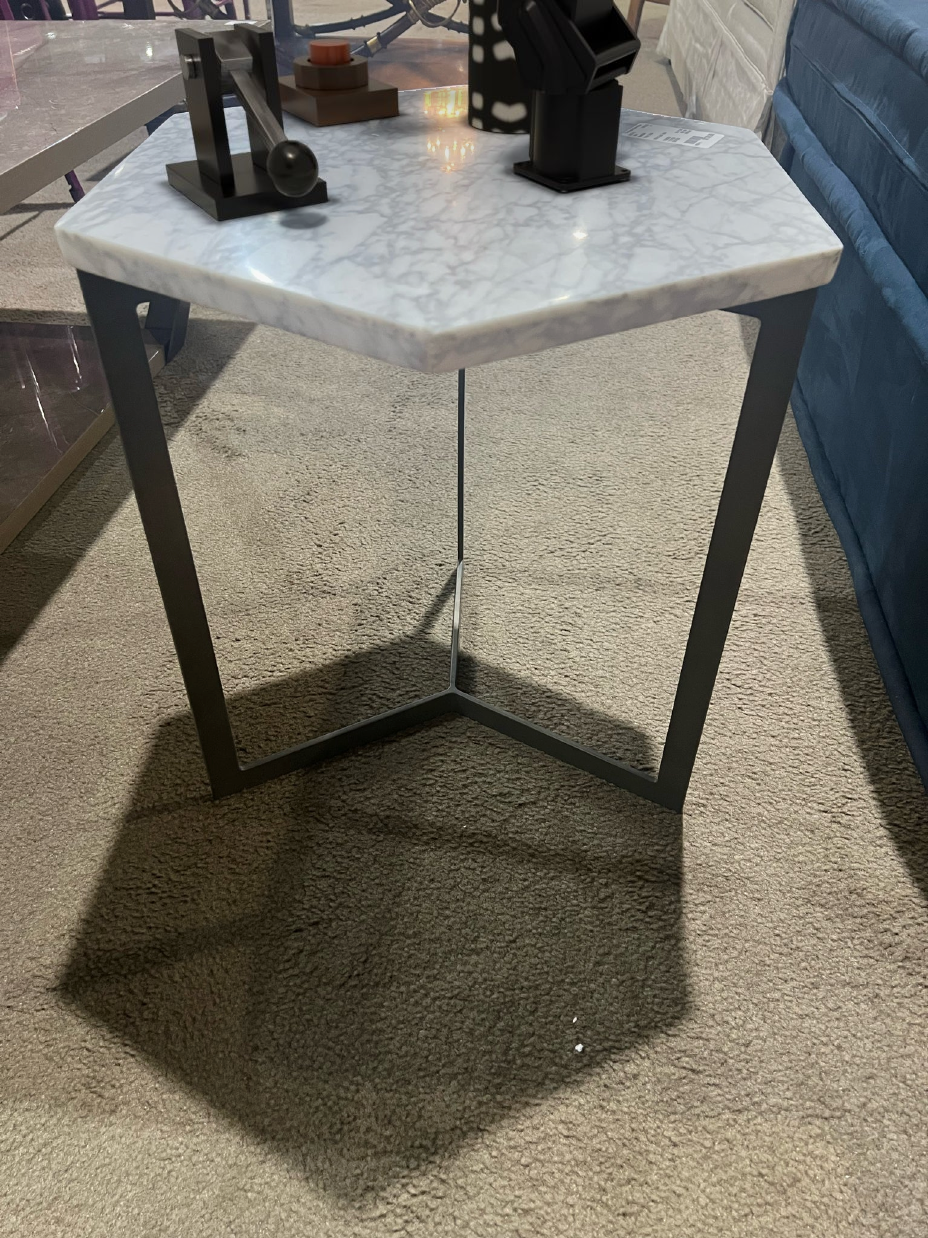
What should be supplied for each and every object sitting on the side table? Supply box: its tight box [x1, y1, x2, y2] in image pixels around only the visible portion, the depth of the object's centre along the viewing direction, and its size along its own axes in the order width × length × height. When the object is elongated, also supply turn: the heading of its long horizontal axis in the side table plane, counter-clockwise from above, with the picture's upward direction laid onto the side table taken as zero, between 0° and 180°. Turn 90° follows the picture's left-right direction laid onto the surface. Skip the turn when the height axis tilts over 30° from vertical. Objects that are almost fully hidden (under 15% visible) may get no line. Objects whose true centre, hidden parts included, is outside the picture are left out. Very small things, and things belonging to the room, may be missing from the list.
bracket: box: [165, 22, 329, 222], centre depth 62 cm, size 10×8×10 cm
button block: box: [278, 53, 400, 127], centre depth 84 cm, size 10×8×4 cm
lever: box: [203, 29, 320, 197], centre depth 59 cm, size 13×3×3 cm, turn 32°
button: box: [308, 38, 351, 64], centre depth 82 cm, size 4×4×2 cm
